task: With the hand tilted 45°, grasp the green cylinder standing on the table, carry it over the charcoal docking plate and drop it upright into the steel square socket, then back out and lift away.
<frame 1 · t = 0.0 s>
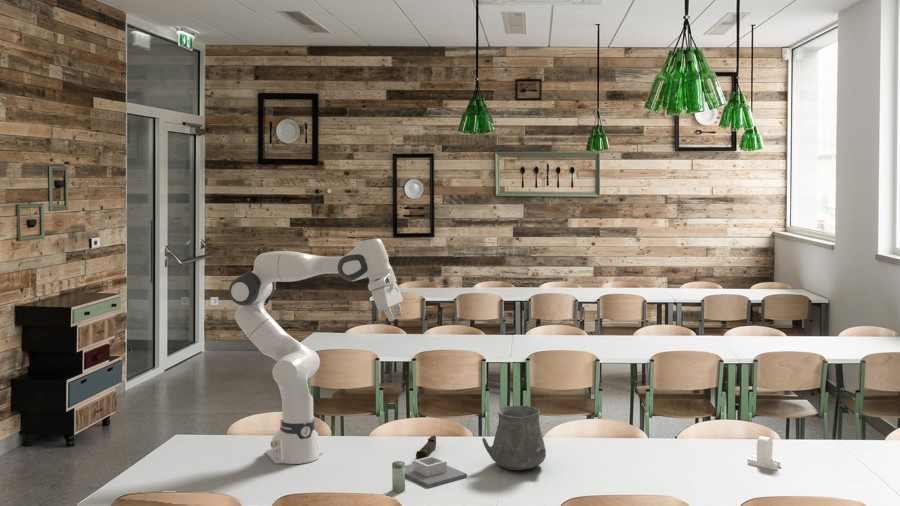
hand: (396, 318, 285), 52 cm above the table, tool tilted 20°, fingers open, 8 cm apart
brown wooden log: (426, 454, 301), on the table
docking plate: (430, 474, 278), on the table
green cylinder: (398, 490, 262), on the table
cable organizer: (763, 465, 285), on the table
vessel: (519, 466, 286), on the table
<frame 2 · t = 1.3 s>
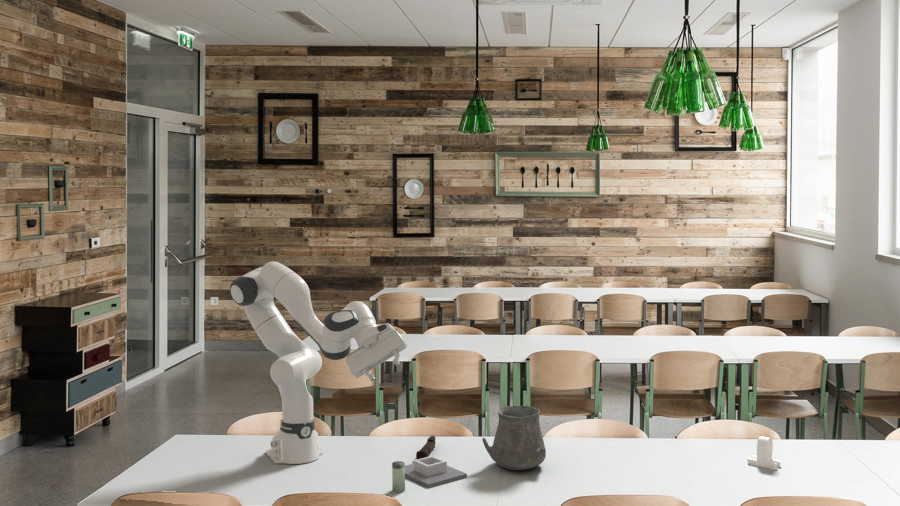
hand: (385, 371, 262), 38 cm above the table, tool tilted 50°, fingers open, 8 cm apart
nothing on the table moved.
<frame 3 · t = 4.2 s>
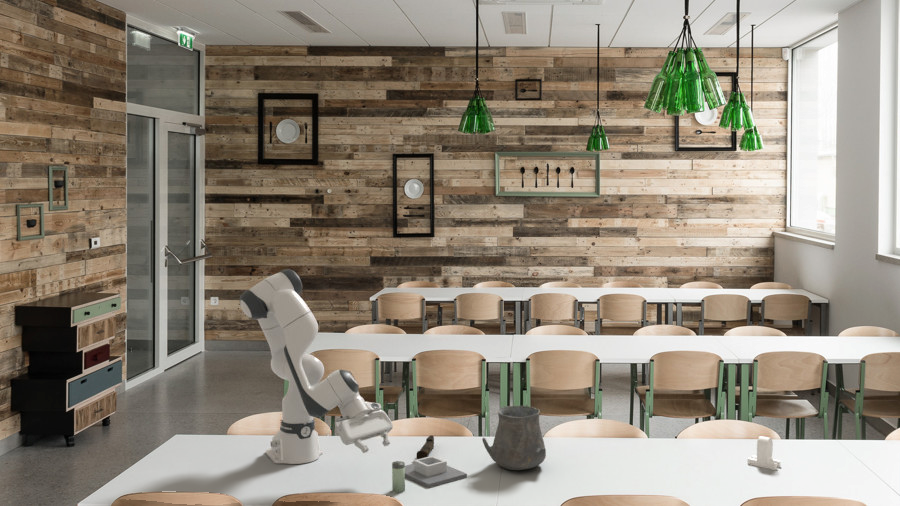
hand: (377, 448, 267), 12 cm above the table, tool tilted 45°, fingers open, 8 cm apart
nothing on the table moved.
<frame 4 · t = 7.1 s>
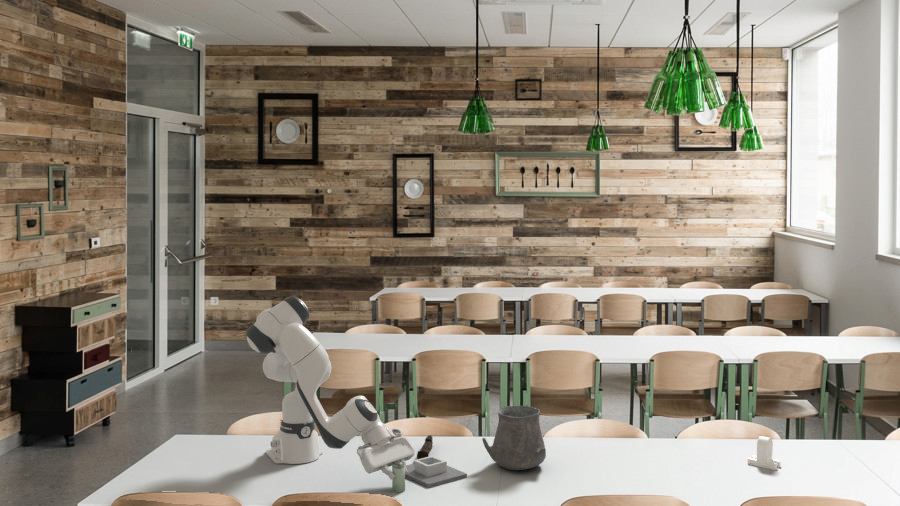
hand: (399, 476, 262), 5 cm above the table, tool tilted 45°, fingers closed on green cylinder, 4 cm apart
green cylinder: (398, 490, 262), on the table, touching gripper
everything else where it was.
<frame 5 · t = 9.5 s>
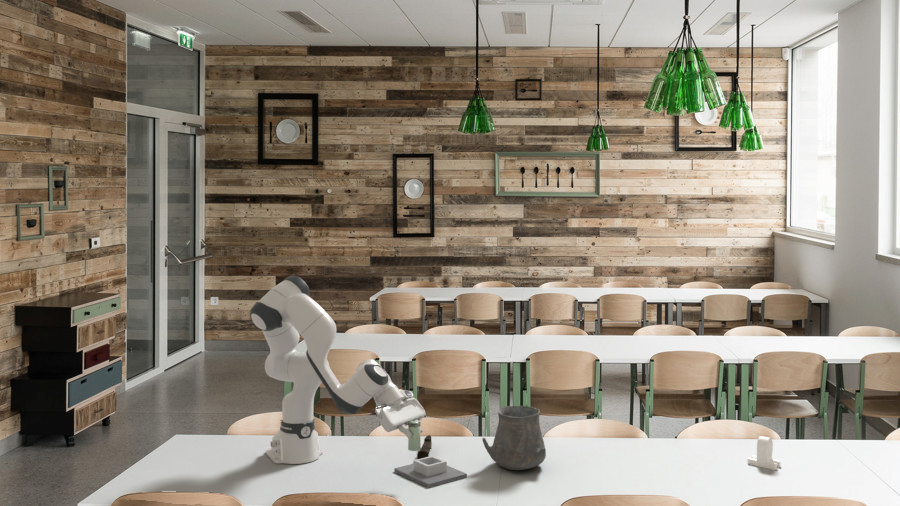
hand: (415, 434, 267), 17 cm above the table, tool tilted 45°, fingers closed on green cylinder, 4 cm apart
green cylinder: (414, 449, 267), point 12 cm above the table, touching gripper
when the fingers open (8 cm above the table, at t = 12.3 s): green cylinder drops 1 cm, resting on docking plate.
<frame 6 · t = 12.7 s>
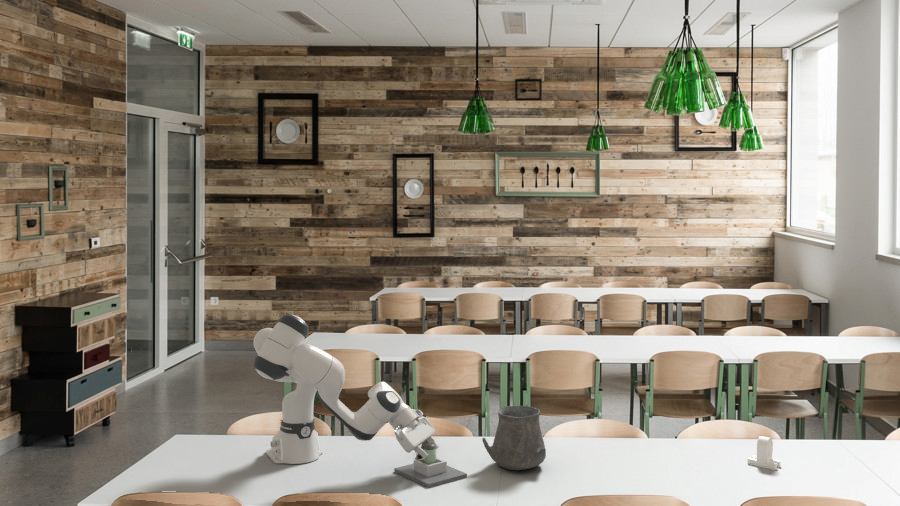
hand: (431, 452, 277), 8 cm above the table, tool tilted 45°, fingers open, 8 cm apart
green cylinder: (430, 470, 277), point 1 cm above the table, touching docking plate
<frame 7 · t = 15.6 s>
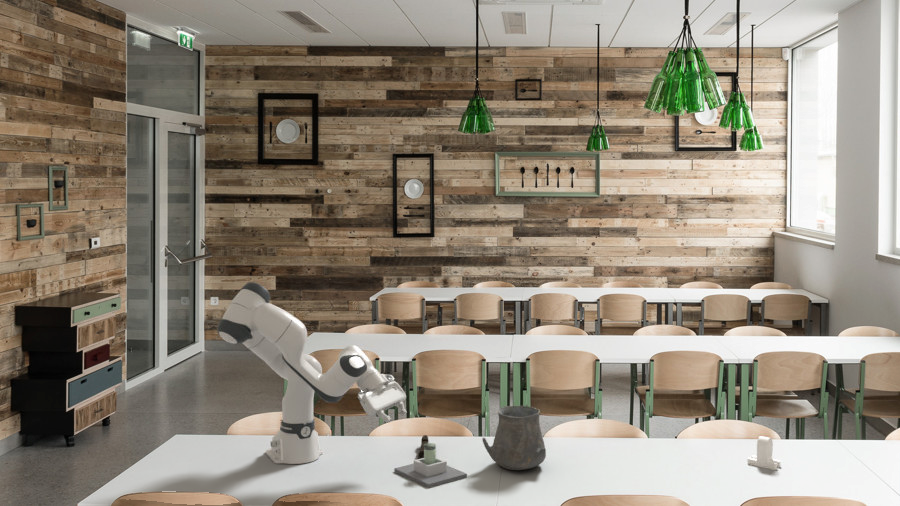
hand: (397, 417, 278), 19 cm above the table, tool tilted 45°, fingers open, 8 cm apart
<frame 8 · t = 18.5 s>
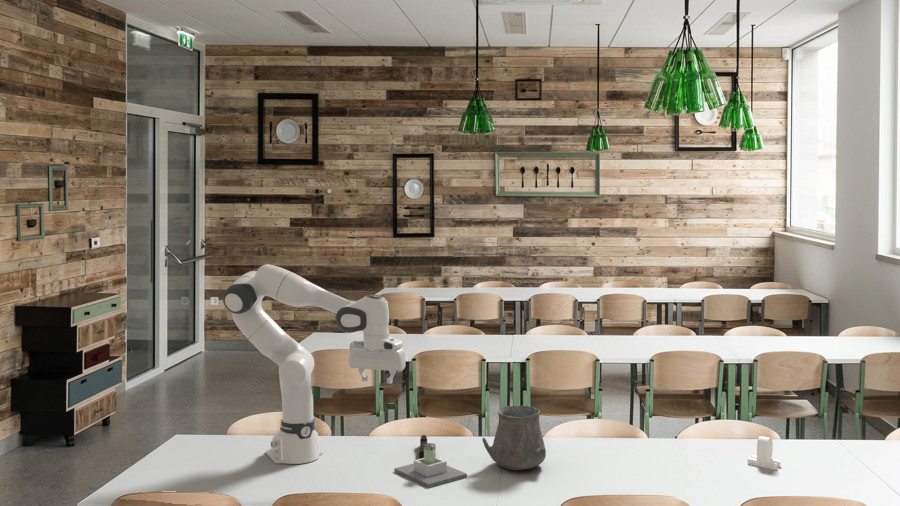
hand: (377, 382, 279), 31 cm above the table, tool pointing down, fingers open, 8 cm apart
at the end: green cylinder 0.0 cm off-centre on the docking plate, point 1.3 cm above the docking plate's base; green cylinder tilted 2°; the gripper is holding nothing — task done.
